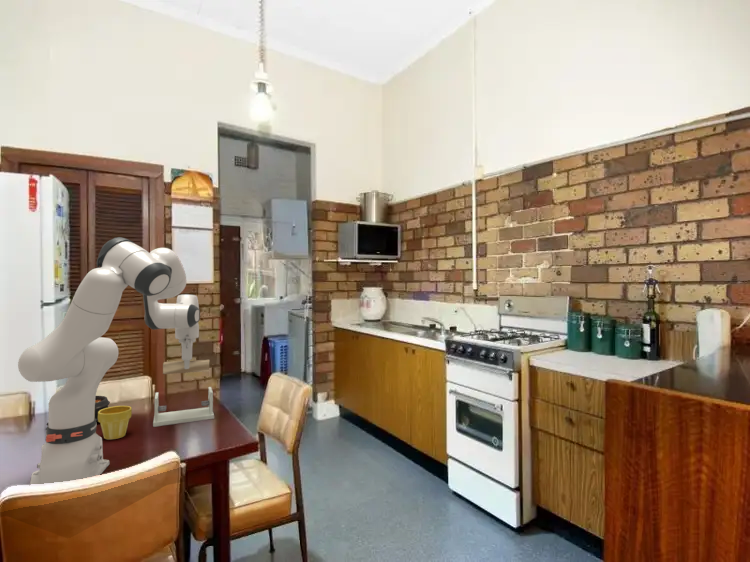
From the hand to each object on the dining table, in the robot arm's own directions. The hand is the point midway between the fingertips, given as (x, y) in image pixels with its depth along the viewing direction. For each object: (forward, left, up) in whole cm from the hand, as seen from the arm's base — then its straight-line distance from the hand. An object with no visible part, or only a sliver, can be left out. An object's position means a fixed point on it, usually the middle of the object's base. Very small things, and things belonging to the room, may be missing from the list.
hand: (186, 367), depth 167 cm
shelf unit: (+2, +1, -21) cm, 21 cm away
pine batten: (0, 0, -2) cm, 2 cm away
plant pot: (-9, +24, -21) cm, 33 cm away
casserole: (+15, +37, -22) cm, 45 cm away
